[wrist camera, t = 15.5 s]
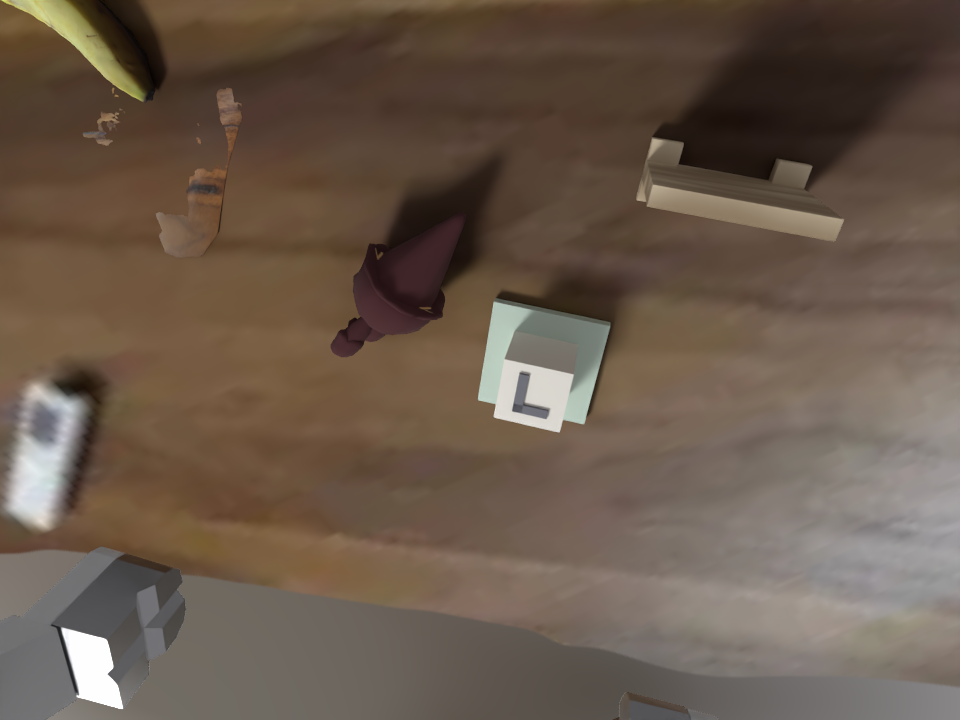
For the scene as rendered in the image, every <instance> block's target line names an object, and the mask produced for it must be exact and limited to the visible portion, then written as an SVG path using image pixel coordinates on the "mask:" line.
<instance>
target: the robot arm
mask: <svg viewBox="0 0 960 720" xmlns="http://www.w3.org/2000/svg"><path fill="white" fill-rule="evenodd" d="M181 584H182V577H181V571H180V569H177V568H173V567H170V566H166V565H163V564H160V563H156V562H153V561H149V560H146V559H143V558H139V557H136V556H132V555H129V554H127V553H123V552H119V551H116V550H112V549H109V548H105V547H99V548H97V549H95V550H93V551H91V552H90V553H88V554H87V555H86V556H85V557H84V558H83V559H82V560H81V561H80V562H79V563H78V564H77V565H76V566H75V567H74V568H72V570H70V571H69V572H68V573H67V574H66V575H65V576H64V577H63V578H62V579H61V580H60V581H59V582H58V583H57V584H56V585H55V586H53V587H52V589H50V590H49V591H48V592H47V593H46V594H45V595H44V596H43V597H42V598H41V599H40V600H39V601H38V602H37V603H35V604H34V605H33V606H32V607H31V608H30V609H29V610H28V611H27V612H26V613H25V614H24V615H23V616H22V617H20V616H16V615H12V616H10V617H8V618H5V619H3V620H1V621H0V720H46V719H48V718H49V717H51V716H53V715H54V714H56V713H57V712H59V711H60V710H62V709H64V708H65V707H67V706H68V705H70V704H71V703H73V702H74V701H76V700H77V697H80V698H84V699H88V700H91V701H95V702H99V703H102V704H106V705H110V706H113V707H117V708H121V709H123V708H124V707H125V705H126V704H127V703H128V701H129V700H130V699H131V697H132V696H133V695H134V694H135V692H136V691H137V690H138V688H139V687H140V686H141V684H142V683H143V681H144V680H145V679H146V678H147V676H148V675H149V661H150V660H151V659H153V658H155V657H157V656H159V655H161V654H163V653H165V652H166V651H167V650H168V648H169V647H170V645H171V644H172V643H173V641H174V640H175V639H176V637H177V635H178V632H179V630H180V628H181V626H182V624H183V621H184V617H185V611H186V606H185V599H184V598H183V596H182V595H181V594H180V593H179V592H178V591H177V589H178V587H179V586H180V585H181ZM614 720H719V719H718V717H716V716H714V715H710V714H706V713H703V712H699V711H694V710H690V709H686V708H685V707H684V706H680V705H676V704H672V703H668V702H664V701H660V700H657V699H653V698H649V697H645V696H641V695H637V694H633V693H629V692H626V693H625V694H624V695H623V696H622V699H621V701H620V703H619V717H618V718H616V719H614Z"/></svg>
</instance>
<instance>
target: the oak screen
mask: <svg viewBox="0 0 960 720" xmlns="http://www.w3.org/2000/svg"><path fill="white" fill-rule="evenodd" d="M683 146H684V143H683V142H680V141H674V140H668V139H663V138H657V137H652V139H651V143H650V147H649V150H648V154H647V158H646V162H645V166H644V170H643V173H642V177H641V181H640V185H639V189H638V192H637V196H636V199H637V200H638V201H644V202H646V203H647V207H652V208H658V209H663V210H668V211H674V212H679V213H684V214H690V215H695V216H700V217H706V218H711V219H716V220H722V221H727V222H732V223H738V224H743V225H748V226H754V227H759V228H764V229H770V230H775V231H780V232H786V233H791V234H796V235H802V236H807V237H812V238H818V239H823V240H828V241H834V242H835V240H836V238H837V235H838V233H839V231H840V228H841V226H842V224H843V221H844V219H843V218H841V217H840V216H839V215H837V214H836V213H835V212H834V211H832V210H831V209H830V208H828V207H827V206H826V205H824V204H823V203H822V202H820V201H819V200H818V199H816V198H815V197H814V196H812V195H811V194H810V193H808V192H807V191H806V190H805V189H804V187H805V185H806V182H807V180H808V177H809V174H810V172H811V169H812V166H811V165H809V164H806V163H800V162H794V161H788V160H783V159H777V158H776V161H775V163H774V166H773V169H772V172H771V174H770V177H769V180H764V179H759V178H753V177H747V176H742V175H736V174H731V173H725V172H719V171H714V170H708V169H703V168H697V167H691V166H686V165H680V164H678V163H679V160H680V156H681V153H682V150H683Z"/></svg>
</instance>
